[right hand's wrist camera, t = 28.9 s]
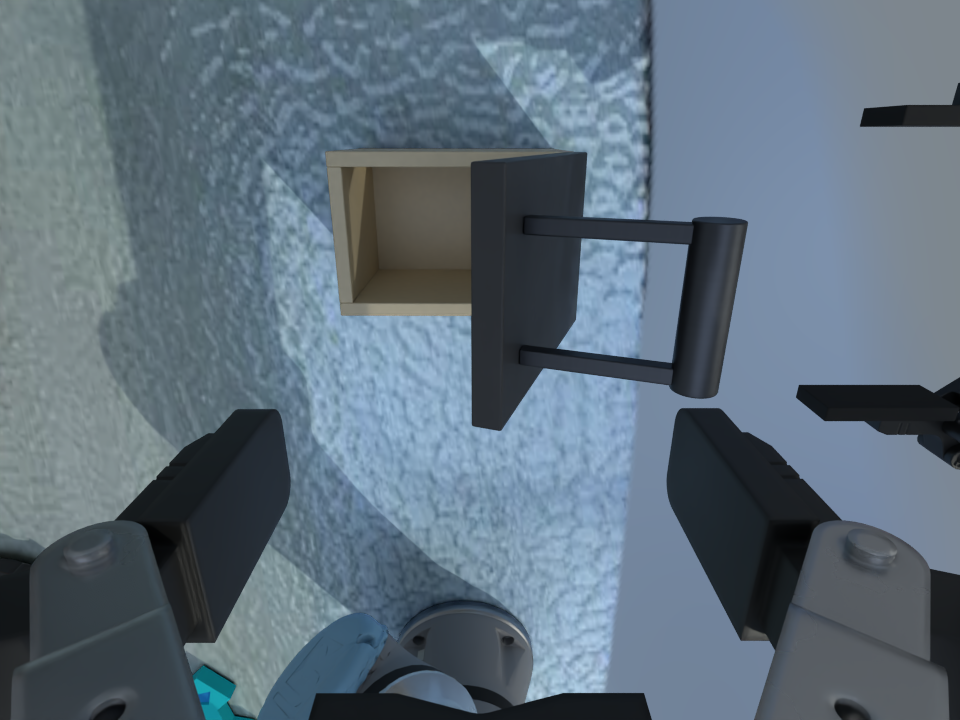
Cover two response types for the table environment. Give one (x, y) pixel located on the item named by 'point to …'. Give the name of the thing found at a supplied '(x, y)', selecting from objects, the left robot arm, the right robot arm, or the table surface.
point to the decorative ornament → (214, 695)
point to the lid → (554, 284)
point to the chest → (405, 227)
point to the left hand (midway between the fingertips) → (842, 273)
